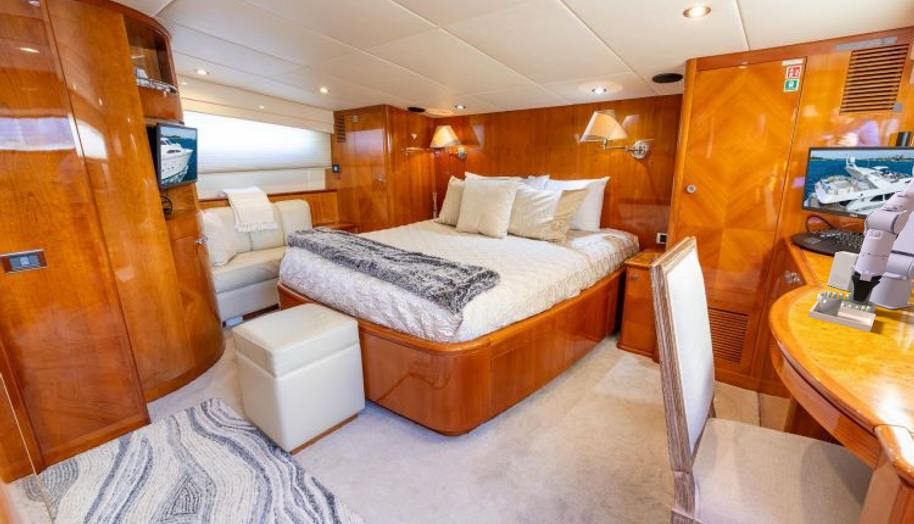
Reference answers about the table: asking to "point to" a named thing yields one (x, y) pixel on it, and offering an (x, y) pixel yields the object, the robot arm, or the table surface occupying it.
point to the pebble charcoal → (859, 301)
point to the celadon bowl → (845, 303)
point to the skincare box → (843, 270)
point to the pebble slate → (829, 306)
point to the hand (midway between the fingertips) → (859, 299)
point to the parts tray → (846, 317)
